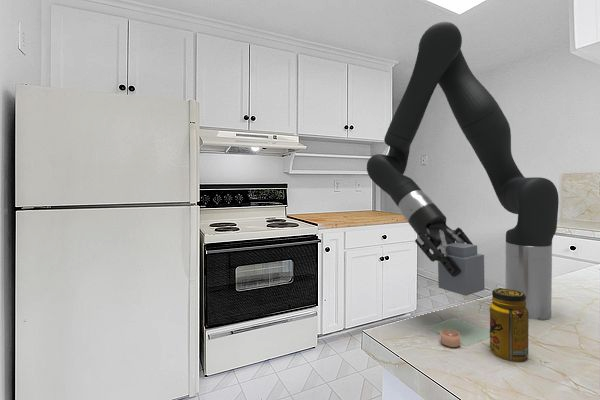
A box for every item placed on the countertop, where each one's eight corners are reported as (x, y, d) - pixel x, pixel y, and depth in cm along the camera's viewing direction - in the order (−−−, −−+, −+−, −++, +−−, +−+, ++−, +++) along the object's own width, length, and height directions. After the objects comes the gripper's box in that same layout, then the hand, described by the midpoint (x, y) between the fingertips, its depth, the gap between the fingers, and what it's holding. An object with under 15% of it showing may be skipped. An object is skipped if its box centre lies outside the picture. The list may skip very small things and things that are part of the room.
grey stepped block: (438, 287, 70) (437, 244, 70) (457, 282, 73) (456, 241, 73) (465, 295, 65) (464, 249, 64) (484, 289, 68) (483, 245, 67)
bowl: (443, 339, 66) (443, 327, 66) (462, 344, 64) (462, 332, 64) (438, 346, 63) (437, 333, 63) (457, 351, 61) (457, 338, 61)
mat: (455, 318, 76) (455, 317, 76) (497, 335, 67) (497, 334, 67) (425, 328, 71) (425, 326, 71) (466, 347, 62) (466, 346, 62)
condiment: (479, 347, 63) (479, 287, 62) (519, 344, 64) (519, 284, 63) (506, 368, 56) (507, 300, 55) (551, 364, 56) (552, 297, 56)
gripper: (408, 204, 71) (457, 267, 61) (450, 200, 78) (500, 256, 68) (391, 225, 76) (435, 287, 66) (432, 220, 83) (476, 275, 73)
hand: (468, 271), depth 67 cm, fingers closed on grey stepped block, 6 cm apart
